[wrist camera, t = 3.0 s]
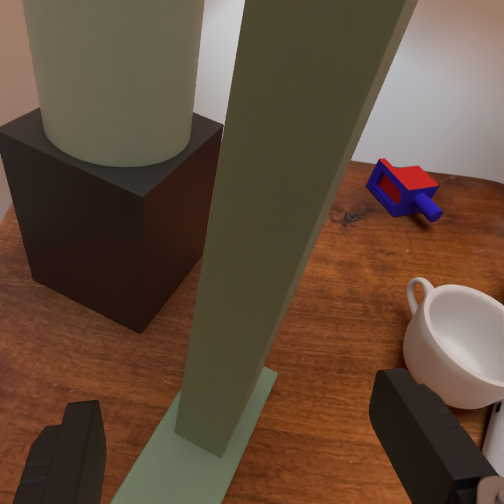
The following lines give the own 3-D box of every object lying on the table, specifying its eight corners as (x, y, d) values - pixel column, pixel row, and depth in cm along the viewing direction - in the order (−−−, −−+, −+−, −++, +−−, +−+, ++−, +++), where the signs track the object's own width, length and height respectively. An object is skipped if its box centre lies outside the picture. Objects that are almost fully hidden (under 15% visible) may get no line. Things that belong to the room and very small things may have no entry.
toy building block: (394, 182, 49) (439, 229, 44) (365, 185, 47) (409, 235, 43) (408, 156, 46) (458, 203, 42) (378, 159, 45) (426, 208, 40)
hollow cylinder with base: (22, 273, 30) (-84, -98, 16) (102, 207, 37) (80, -102, 22) (140, 334, 29) (146, -14, 14) (202, 254, 35) (252, -45, 21)
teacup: (513, 406, 30) (566, 369, 27) (433, 440, 28) (481, 403, 24) (427, 298, 36) (461, 255, 33) (354, 316, 33) (382, 271, 30)
